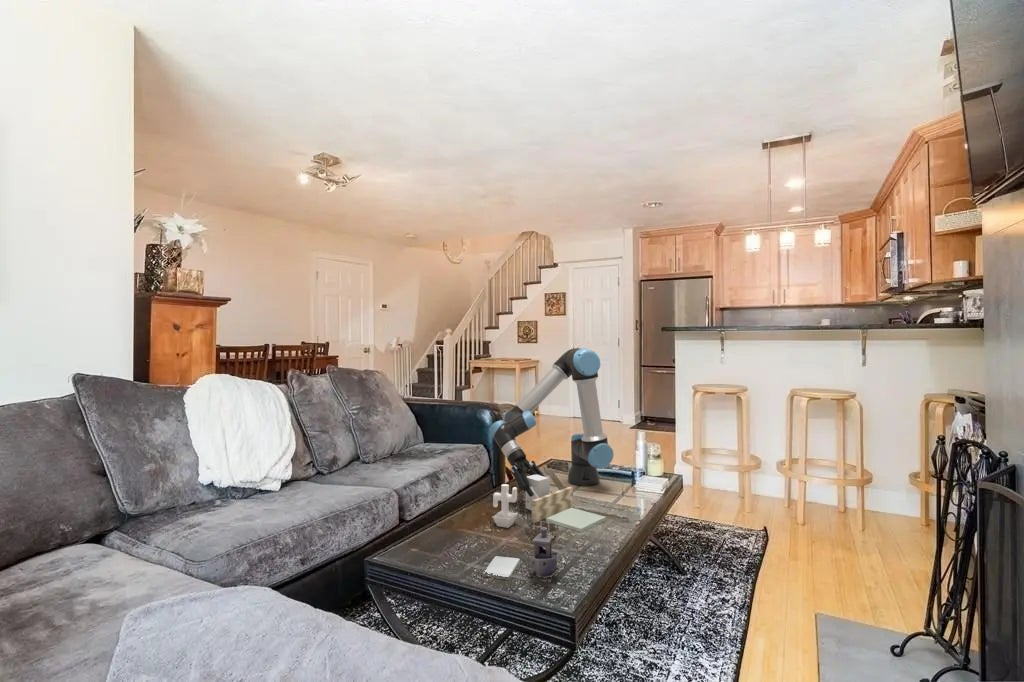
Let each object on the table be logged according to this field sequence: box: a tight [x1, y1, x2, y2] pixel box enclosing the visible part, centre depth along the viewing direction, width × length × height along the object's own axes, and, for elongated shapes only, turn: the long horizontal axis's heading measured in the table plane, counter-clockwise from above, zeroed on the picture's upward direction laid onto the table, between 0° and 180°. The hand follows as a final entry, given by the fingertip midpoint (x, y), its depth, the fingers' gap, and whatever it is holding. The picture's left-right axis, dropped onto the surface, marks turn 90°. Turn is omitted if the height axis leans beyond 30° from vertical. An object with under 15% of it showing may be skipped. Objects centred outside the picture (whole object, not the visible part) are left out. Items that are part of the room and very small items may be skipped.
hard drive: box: [484, 555, 521, 577], centre depth 152 cm, size 2×8×12 cm
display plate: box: [545, 507, 607, 533], centre depth 192 cm, size 16×16×1 cm
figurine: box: [491, 483, 518, 529], centre depth 188 cm, size 7×9×15 cm
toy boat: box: [528, 526, 560, 579], centre depth 148 cm, size 15×8×13 cm, turn 164°
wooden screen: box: [531, 486, 574, 524], centre depth 199 cm, size 24×2×8 cm, turn 137°
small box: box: [525, 475, 551, 512], centre depth 204 cm, size 8×6×13 cm
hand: (544, 500), depth 202 cm, fingers closed on small box, 7 cm apart
